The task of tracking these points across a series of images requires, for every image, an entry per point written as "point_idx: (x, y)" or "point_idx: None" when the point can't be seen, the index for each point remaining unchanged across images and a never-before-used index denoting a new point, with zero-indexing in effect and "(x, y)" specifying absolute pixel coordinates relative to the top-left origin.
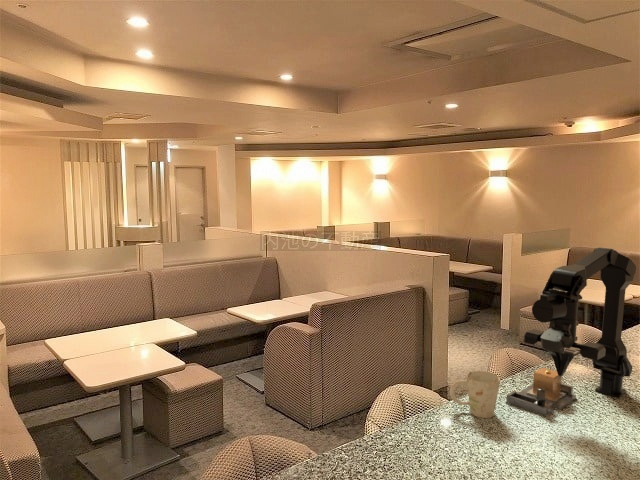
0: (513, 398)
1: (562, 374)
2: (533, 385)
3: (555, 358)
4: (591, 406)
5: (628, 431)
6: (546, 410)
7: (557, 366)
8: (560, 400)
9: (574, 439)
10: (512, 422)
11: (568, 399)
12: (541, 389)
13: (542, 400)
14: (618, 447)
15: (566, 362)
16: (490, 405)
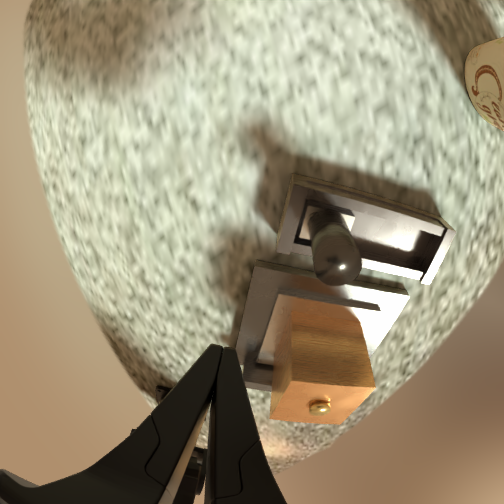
0: (431, 222)
1: (202, 357)
2: (364, 342)
3: (242, 488)
4: (183, 329)
5: (63, 224)
6: (293, 181)
7: (230, 411)
8: (265, 317)
9: (153, 41)
10: (396, 43)
11: (244, 334)
12: (337, 266)
13: (320, 222)
14: (51, 100)
15: (120, 443)
16: (497, 42)
